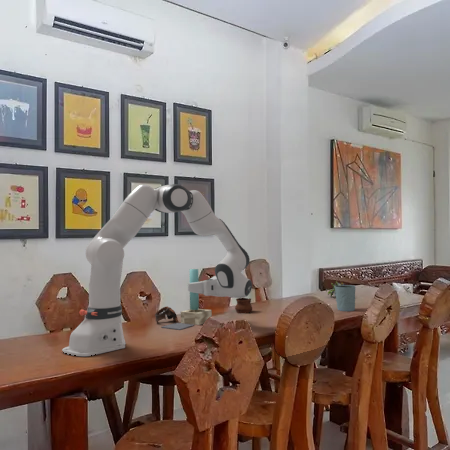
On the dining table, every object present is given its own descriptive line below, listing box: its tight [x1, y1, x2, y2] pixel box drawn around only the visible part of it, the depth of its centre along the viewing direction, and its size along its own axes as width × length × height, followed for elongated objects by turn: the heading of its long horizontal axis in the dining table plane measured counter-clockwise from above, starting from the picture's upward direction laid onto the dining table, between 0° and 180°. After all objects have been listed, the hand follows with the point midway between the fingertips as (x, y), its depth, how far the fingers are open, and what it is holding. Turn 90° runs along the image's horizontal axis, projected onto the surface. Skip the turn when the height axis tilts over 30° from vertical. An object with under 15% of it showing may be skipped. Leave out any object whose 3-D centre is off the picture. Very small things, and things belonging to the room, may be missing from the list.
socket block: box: [180, 308, 213, 326], centre depth 204 cm, size 10×10×5 cm
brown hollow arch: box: [154, 306, 179, 324], centre depth 205 cm, size 12×10×8 cm
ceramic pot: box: [234, 297, 253, 314], centre depth 227 cm, size 18×18×7 cm
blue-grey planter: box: [335, 284, 356, 312], centre depth 228 cm, size 10×10×12 cm
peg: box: [189, 268, 200, 310], centre depth 204 cm, size 4×4×18 cm
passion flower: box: [325, 281, 346, 298], centre depth 269 cm, size 11×11×12 cm
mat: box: [160, 322, 195, 331], centre depth 194 cm, size 10×10×1 cm
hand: (192, 284), depth 205 cm, fingers closed on peg, 4 cm apart
